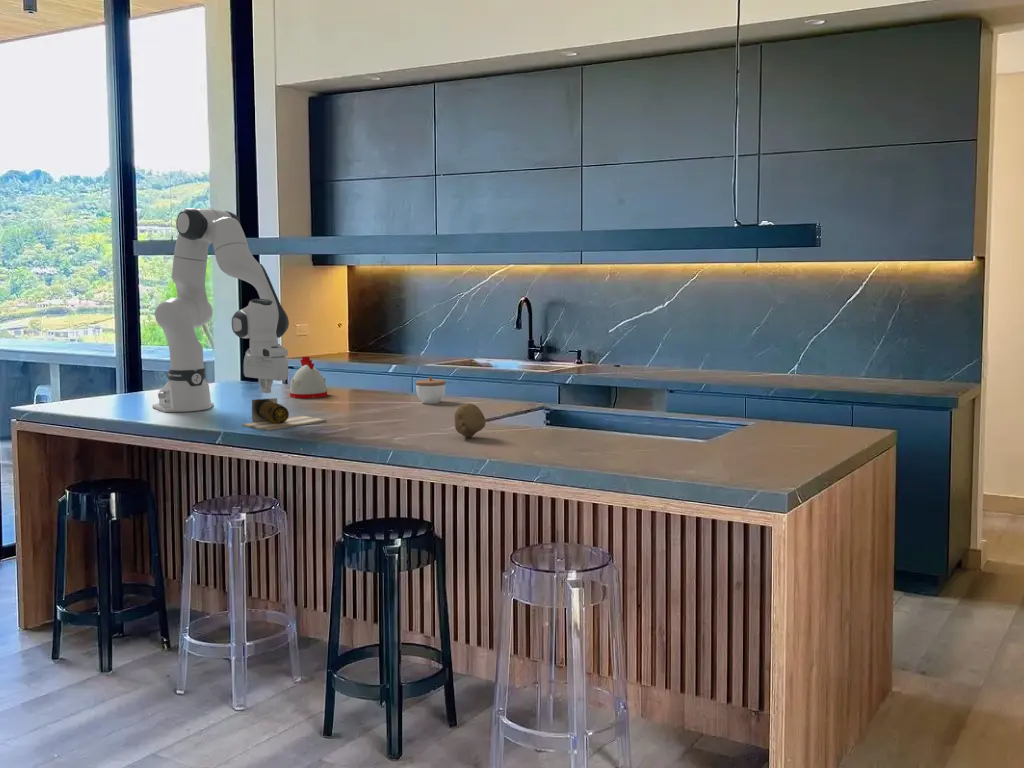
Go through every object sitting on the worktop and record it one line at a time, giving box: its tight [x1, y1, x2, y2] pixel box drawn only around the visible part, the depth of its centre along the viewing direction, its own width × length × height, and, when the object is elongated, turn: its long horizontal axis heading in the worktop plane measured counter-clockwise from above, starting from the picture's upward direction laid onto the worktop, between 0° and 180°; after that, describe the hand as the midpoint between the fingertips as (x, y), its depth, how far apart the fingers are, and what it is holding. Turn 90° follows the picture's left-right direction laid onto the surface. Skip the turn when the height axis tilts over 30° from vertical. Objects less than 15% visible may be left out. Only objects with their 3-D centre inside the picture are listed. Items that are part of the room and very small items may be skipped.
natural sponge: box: [454, 403, 487, 439], centre depth 302 cm, size 9×9×10 cm
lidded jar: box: [415, 376, 447, 405], centre depth 373 cm, size 11×11×9 cm
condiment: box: [251, 397, 290, 423], centre depth 330 cm, size 7×8×12 cm
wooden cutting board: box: [242, 415, 327, 431], centre depth 331 cm, size 14×22×1 cm, turn 137°
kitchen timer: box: [289, 356, 328, 399], centre depth 395 cm, size 14×14×15 cm
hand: (266, 392), depth 335 cm, fingers closed
